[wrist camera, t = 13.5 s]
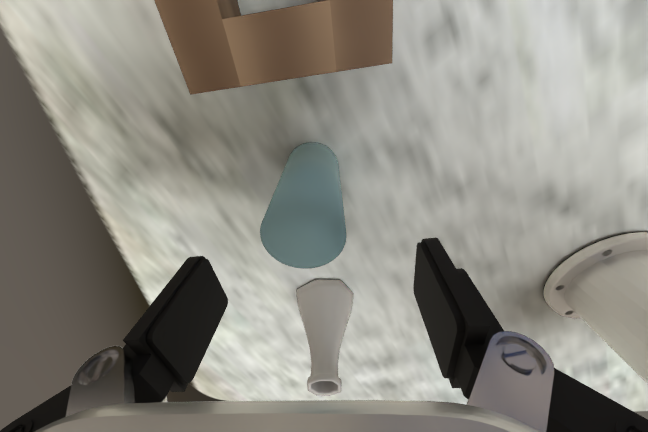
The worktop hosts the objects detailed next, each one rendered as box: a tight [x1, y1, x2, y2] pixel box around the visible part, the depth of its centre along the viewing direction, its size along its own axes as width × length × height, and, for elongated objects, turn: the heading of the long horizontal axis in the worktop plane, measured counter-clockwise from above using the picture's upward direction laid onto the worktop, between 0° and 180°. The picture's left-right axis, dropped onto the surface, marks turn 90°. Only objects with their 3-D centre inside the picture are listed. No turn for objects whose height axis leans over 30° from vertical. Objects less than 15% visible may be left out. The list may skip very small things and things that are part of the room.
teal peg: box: [260, 142, 346, 268], centre depth 17 cm, size 4×4×10 cm
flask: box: [297, 280, 353, 396], centre depth 26 cm, size 7×7×10 cm
